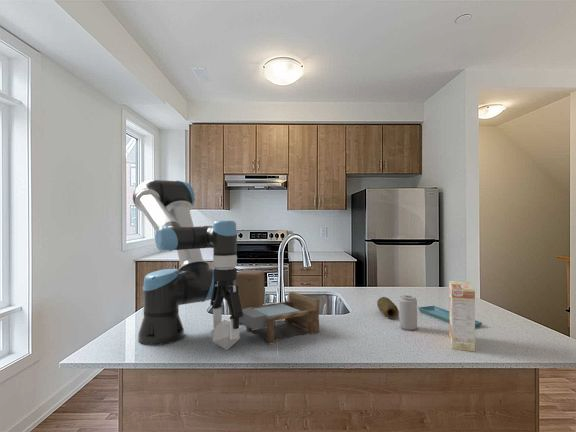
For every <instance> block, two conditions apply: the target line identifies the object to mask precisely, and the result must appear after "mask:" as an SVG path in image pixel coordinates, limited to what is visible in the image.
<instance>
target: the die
mask: <svg viewBox="0 0 576 432" xmlns="http://www.w3.org/2000/svg"><path fill="white" fill-rule="evenodd" d="M211 336H212V342H213V343H214V344H215V346H216V347H218V348H221V349H224V350H226V351H228V350H229V349H230V348H231V347H233V345H235V344H236V343H237V342H238V341H239V340H240V338H241V337H240V336H239V338H237V339H232V340H231V339H230V320H229V321H228V320H226V319H224V320H222V322H221V323H219V324H218V325H217V326H216V327H215V328H213V329H212V330H211Z"/></svg>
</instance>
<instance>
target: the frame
mask: <svg viewBox="0 0 576 432" xmlns="http://www.w3.org/2000/svg"><path fill="white" fill-rule="evenodd" d="M288 293H289V294H288V299H289V300H285V301H282V302H276V303H269V304H264V305H262V306H256V307H248V308H251V309H254V308H260V307H266V306H272V305H278V304H284V305H287V306H290V307H292V308H295V309H298V310H300V312H295V313H289V314H284V315H279V316H273V317H268V316H266V327H264V328H259V329H254V330H253V329H251V328H249V327H248V326H246V325H245V331H246V332H248V333H251V332H252V333H254V334H255V335H258V336H259V337H261V338H263V339H265V341H266V343H267V344H269V345H272V344H275V341H278V340H279V341H280V340H283V339H288V338H292V337H296V336H301V335H307V334H309V335H316V334H319V333H320V299H318V298H317V299H316V298H314V297H312V296H307V295H304V294H301V293H297V292H295V291H289V292H288ZM280 320H284V323H282V324H277V325H275V322H277V321H280Z"/></svg>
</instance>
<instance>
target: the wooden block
mask: <svg viewBox="0 0 576 432" xmlns="http://www.w3.org/2000/svg"><path fill="white" fill-rule="evenodd" d="M234 285H238V293H239V298H240V303H241V308H242V309H246V308H248V307H256V306H262V305H263V304H264V305H265V272H264V270H254V269H251V270H249V269H243V270H240V271H237V279H236V280H234ZM239 325H243V324H242V323H240V322H239Z"/></svg>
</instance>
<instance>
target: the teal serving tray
mask: <svg viewBox="0 0 576 432" xmlns="http://www.w3.org/2000/svg"><path fill="white" fill-rule="evenodd" d="M417 310H418V311H419V312H420V313H421V314H424V315H426V316H429V317H432V318H435V319H437V320H439V321H443V322H446V323H448V324H449V309H448V310H447V309H445V308H441V307H438V306H436V305H427V306H419V307H418V306H417ZM482 324H483V322H481V321H478V320H476V319H475V328H478V327H481V326H482Z"/></svg>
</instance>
